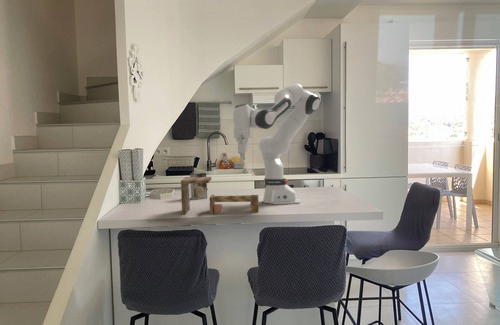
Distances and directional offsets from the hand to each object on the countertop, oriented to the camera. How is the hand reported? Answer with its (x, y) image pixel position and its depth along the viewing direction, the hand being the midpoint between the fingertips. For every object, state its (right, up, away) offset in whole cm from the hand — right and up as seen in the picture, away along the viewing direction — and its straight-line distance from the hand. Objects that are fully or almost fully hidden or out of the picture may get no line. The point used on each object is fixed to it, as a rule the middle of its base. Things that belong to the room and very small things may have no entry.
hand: (242, 161), depth 214 cm
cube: (-13, -27, +2) cm, 30 cm away
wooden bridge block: (-4, -27, +2) cm, 28 cm away
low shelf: (-24, -27, +3) cm, 37 cm away
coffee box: (-29, -24, +45) cm, 58 cm away
